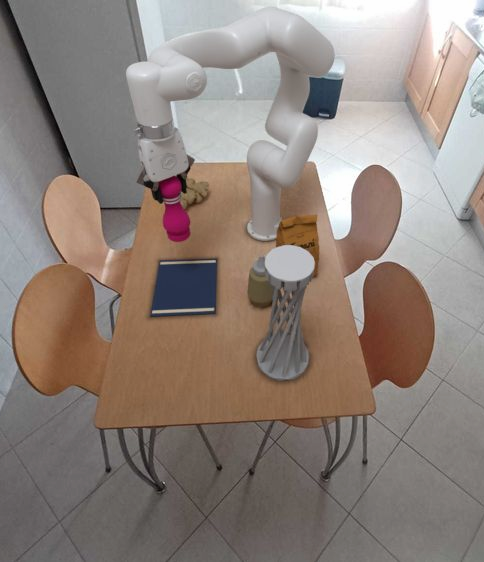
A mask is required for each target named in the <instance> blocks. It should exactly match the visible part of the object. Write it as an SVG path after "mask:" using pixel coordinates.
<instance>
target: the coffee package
mask: <svg viewBox="0 0 484 562" xmlns="http://www.w3.org/2000/svg"><path fill="white" fill-rule="evenodd" d="M317 222H318V214H305V215H295V216H292V217H289V218H286V219H282V221H280V223H279V227H278V229H277V236H276V239H275V248H276V247H280V246H284V245H293V246H298V247H301V248H303V249H305V250H307V251H308V252H309V253H310V254H311V255H312V256H313V258H314V261H315V267H314V274H313V277H316V276H317V275H318V268H319V260H320V242H319V241H320V239H319V232H318V223H317Z"/></svg>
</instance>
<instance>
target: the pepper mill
mask: <svg viewBox="0 0 484 562" xmlns="http://www.w3.org/2000/svg"><path fill="white" fill-rule="evenodd" d="M158 188H159V189H160V191H161V195H162V199H163V204H164V212H163V216H162V227H163V229H164V230H165V231H166V235H167V238H168V240H170V241H171V242H174V243H182V242H185V241H187V240H188V239H189V238H190V236H191V228H190V226H191V218H190V215H189V214H188V212H187V211H186V209H183V207H182V205H181V202H180V200H181V198H182V197H181V192H180V191H181V182H180V180H179V178H178V177H176V175H175V176H172V177H170V178H167V179H165V180H162V181H159V184H158Z"/></svg>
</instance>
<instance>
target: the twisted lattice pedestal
mask: <svg viewBox="0 0 484 562" xmlns="http://www.w3.org/2000/svg"><path fill="white" fill-rule="evenodd" d="M314 267H315V261H314V258H313V256H312V255H311V254H310V253H309V252H308V251H307V250H305V249H303V248H301V247H298V246H293V245H284V246H280V247H276V246H275V247H274V248H273V249H271V250H270V251H268V253H267V254H266V256H265V276H266V278H267V280H268V282H269V284H270V289H271V293H272V298H273V300H272V302H271V303H272V304H271V309H270V310H271V311H270V316H269V317H270V318H269V324H268V330H267V332H266V334H265V337H264V338H263V341H262V342H261V343H260V344H259V346H258V347H257V351H256V354H255V355H256V356H255V357H256V362H257V365H258V368H259V370H260V372H262V374H264V375H265V376H266V377H267V378H268V379H271V380H274V381H278V382H281V381H282V382H283V381H292V380H293V381H294V380H295V379H297V378H298V377H300V376H302V375H303V374H304V372H305V371H306V370H307V367H308V366H309V360H310V359H309V358H310V354H309V351H308V348H307V346H306V344H305V342H304V336H303V335H304V334H303V329H302V324H301V323H302V322H301V321H302V306H303V301H304V297H305V293H306V289H307V286H308V285H310V283H311V282H312V280H313V277H314V276H313V274H314ZM281 290H283V292H284V293H283V294H282V291H281ZM290 294H291V295H290ZM278 303H279V304H278ZM286 304H287V305H286ZM281 313H282V316H280V315H281ZM276 323H277V325H276ZM285 323H286V326H285V329H284V330H283V327H284V325H285ZM275 326H276V327H275ZM274 328H275V330H274ZM289 333H290V334H289Z"/></svg>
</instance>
